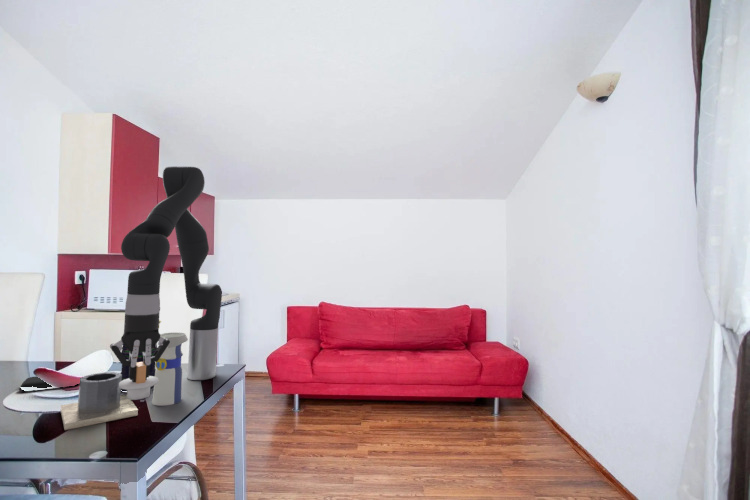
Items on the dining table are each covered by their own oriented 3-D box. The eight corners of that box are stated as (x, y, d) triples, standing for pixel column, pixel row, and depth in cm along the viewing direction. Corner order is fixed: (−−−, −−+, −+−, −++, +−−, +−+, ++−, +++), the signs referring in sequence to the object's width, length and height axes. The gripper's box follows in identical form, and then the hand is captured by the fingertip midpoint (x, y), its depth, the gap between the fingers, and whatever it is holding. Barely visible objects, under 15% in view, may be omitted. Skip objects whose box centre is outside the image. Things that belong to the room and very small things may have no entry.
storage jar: (161, 384, 126) (164, 338, 127) (142, 394, 116) (145, 344, 117) (132, 382, 127) (135, 337, 127) (111, 392, 117) (114, 343, 117)
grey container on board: (60, 411, 101) (63, 375, 102) (126, 399, 111) (128, 366, 112) (64, 430, 90) (67, 389, 91) (137, 415, 100) (139, 379, 101)
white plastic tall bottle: (169, 407, 106) (175, 318, 108) (143, 404, 108) (149, 316, 109) (189, 398, 114) (194, 314, 116) (165, 395, 116) (170, 313, 117)
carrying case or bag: (82, 378, 130) (24, 385, 121) (82, 369, 130) (25, 375, 122) (80, 387, 121) (17, 395, 113) (81, 377, 121) (18, 384, 113)
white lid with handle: (121, 404, 90) (123, 370, 90) (115, 394, 96) (117, 363, 96) (161, 397, 95) (163, 365, 96) (153, 388, 102) (154, 358, 102)
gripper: (168, 308, 104) (164, 372, 103) (107, 311, 95) (103, 381, 94) (176, 311, 98) (172, 379, 98) (112, 315, 89) (108, 389, 89)
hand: (138, 380), depth 96 cm, fingers closed on white lid with handle
